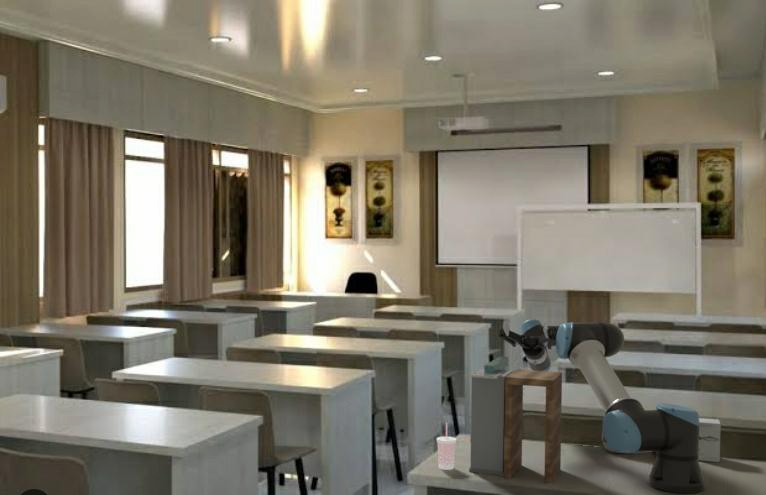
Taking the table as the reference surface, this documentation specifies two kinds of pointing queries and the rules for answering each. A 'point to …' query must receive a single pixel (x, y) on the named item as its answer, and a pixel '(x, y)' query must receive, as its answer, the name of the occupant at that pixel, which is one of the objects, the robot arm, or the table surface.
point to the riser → (515, 416)
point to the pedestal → (488, 424)
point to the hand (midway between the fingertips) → (524, 325)
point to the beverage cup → (446, 451)
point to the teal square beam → (492, 368)
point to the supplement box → (709, 440)
